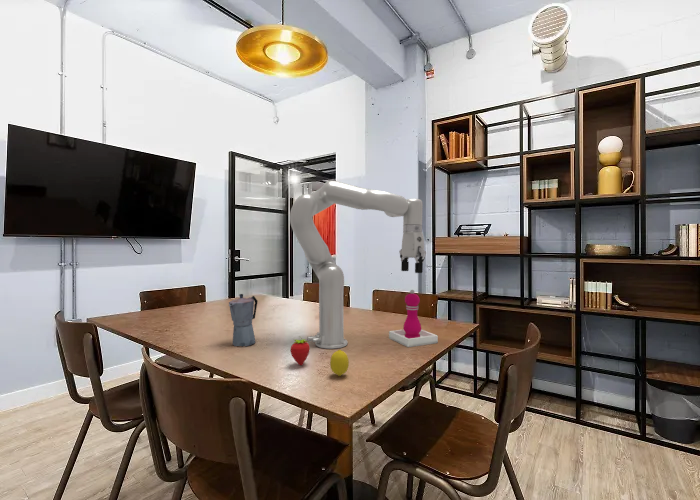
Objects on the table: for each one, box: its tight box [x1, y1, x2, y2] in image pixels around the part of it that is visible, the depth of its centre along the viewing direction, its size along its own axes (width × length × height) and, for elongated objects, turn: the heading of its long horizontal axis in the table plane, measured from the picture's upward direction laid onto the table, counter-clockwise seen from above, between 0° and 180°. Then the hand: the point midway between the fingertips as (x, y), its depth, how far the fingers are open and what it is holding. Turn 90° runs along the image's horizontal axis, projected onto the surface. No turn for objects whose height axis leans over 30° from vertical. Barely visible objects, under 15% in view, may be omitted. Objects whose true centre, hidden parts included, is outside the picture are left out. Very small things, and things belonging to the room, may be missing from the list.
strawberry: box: [290, 337, 311, 367], centre depth 116 cm, size 6×8×10 cm
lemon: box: [329, 349, 350, 377], centre depth 106 cm, size 6×6×8 cm
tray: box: [388, 329, 439, 348], centre depth 145 cm, size 14×14×3 cm
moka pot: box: [228, 293, 258, 348], centre depth 141 cm, size 10×15×20 cm, turn 158°
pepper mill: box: [402, 289, 422, 339], centre depth 144 cm, size 7×7×20 cm
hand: (411, 271), depth 144 cm, fingers open, 9 cm apart
